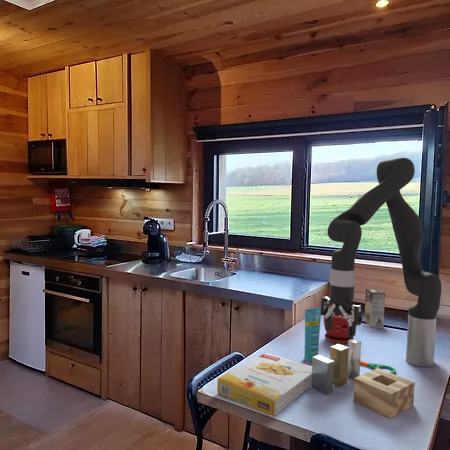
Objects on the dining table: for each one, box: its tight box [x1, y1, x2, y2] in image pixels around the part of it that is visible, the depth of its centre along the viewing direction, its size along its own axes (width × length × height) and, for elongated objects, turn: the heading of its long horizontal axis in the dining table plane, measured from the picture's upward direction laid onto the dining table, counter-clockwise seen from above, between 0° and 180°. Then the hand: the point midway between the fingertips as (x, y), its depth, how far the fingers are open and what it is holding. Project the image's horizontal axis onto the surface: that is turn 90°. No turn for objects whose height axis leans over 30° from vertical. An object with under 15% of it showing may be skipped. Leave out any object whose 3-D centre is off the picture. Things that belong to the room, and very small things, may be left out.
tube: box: [304, 306, 322, 362], centre depth 156 cm, size 7×5×19 cm, turn 123°
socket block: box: [352, 368, 416, 419], centre depth 125 cm, size 12×12×7 cm
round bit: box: [347, 339, 362, 380], centre depth 142 cm, size 4×4×12 cm
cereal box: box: [216, 352, 312, 417], centre depth 134 cm, size 20×6×28 cm
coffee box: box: [364, 288, 386, 329], centre depth 197 cm, size 9×6×16 cm
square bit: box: [329, 344, 349, 388], centre depth 137 cm, size 4×4×12 cm
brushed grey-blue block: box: [310, 354, 334, 396], centre depth 132 cm, size 3×6×10 cm, turn 38°
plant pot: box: [323, 308, 355, 345], centre depth 176 cm, size 13×13×12 cm
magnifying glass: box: [360, 359, 397, 375], centre depth 150 cm, size 15×6×2 cm, turn 51°
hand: (339, 333), depth 136 cm, fingers open, 8 cm apart
